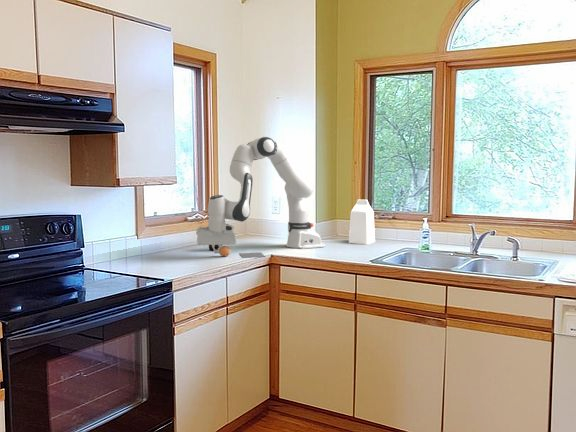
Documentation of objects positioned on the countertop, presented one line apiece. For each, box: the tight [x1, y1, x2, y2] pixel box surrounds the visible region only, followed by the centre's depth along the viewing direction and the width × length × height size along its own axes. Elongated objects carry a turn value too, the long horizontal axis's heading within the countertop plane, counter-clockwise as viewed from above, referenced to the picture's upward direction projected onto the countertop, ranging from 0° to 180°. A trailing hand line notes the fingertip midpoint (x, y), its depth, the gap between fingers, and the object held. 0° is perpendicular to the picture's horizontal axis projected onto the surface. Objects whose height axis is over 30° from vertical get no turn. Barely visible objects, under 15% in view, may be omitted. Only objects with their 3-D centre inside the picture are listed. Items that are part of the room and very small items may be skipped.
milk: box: [348, 199, 376, 245], centre depth 330 cm, size 12×12×26 cm
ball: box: [218, 245, 231, 257], centre depth 285 cm, size 6×6×6 cm
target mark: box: [239, 252, 266, 259], centre depth 289 cm, size 12×12×1 cm
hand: (216, 253), depth 284 cm, fingers closed
